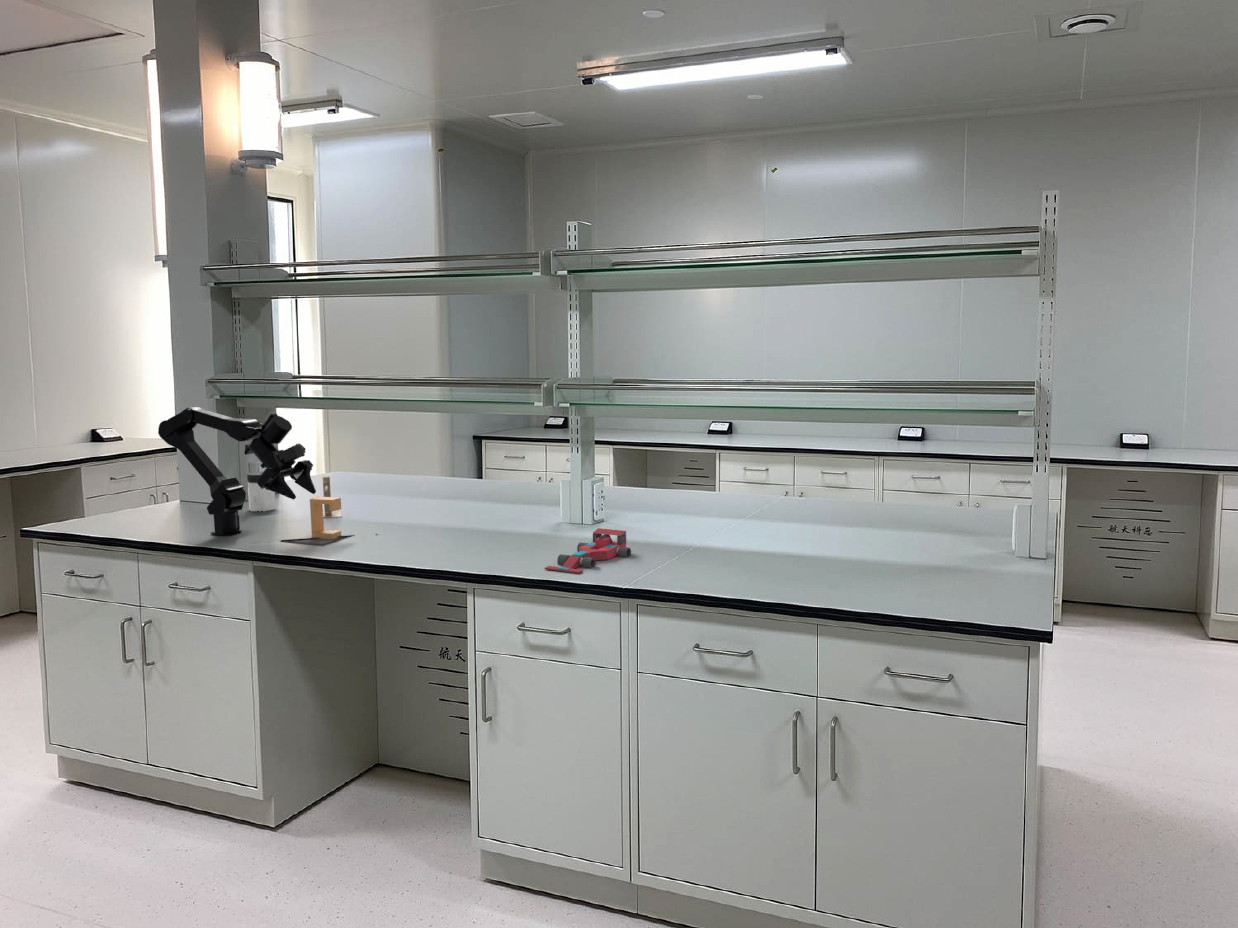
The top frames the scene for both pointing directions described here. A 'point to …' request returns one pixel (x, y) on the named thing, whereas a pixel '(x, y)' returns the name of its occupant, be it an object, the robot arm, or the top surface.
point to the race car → (594, 551)
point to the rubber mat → (315, 540)
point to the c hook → (317, 516)
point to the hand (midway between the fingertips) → (305, 495)
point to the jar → (259, 495)
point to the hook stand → (328, 494)
